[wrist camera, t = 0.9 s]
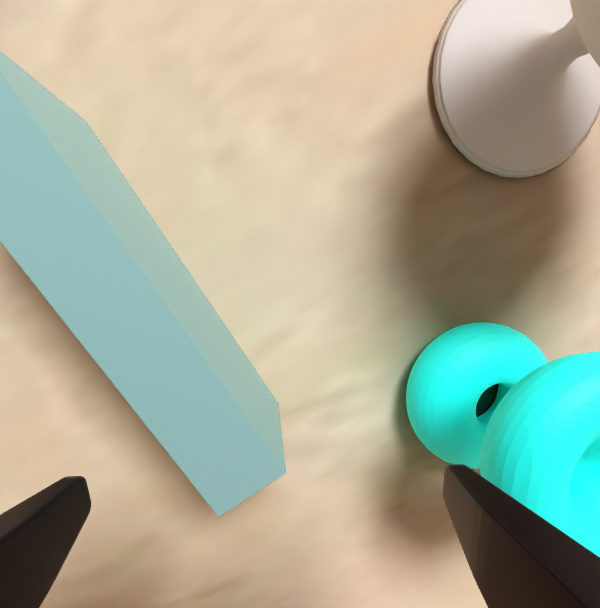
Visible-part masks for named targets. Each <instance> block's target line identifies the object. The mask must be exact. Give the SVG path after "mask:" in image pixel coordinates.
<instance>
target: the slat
mask: <svg viewBox="0 0 600 608" xmlns="http://www.w3.org/2000/svg"><path fill="white" fill-rule="evenodd" d="M0 242H1V243H2V244H3V246H4V247H5V248H6V249H7V251H8V252H9V253H10V254H11V256H12V257H13V258H14V259H15V261H16V262H17V263H18V264H19V266H20V267H21V268H22V270H23V271H24V272H25V273H26V275H27V276H28V277H29V278H30V280H31V281H32V282H33V283H34V285H35V286H36V287H37V288H38V290H39V291H40V292H41V294H42V295H43V296H44V297H45V299H46V300H47V301H48V302H49V304H50V305H51V306H52V307H53V309H54V310H55V311H56V312H57V314H58V315H59V316H60V318H61V319H62V320H63V321H64V323H65V324H66V325H67V326H68V328H69V329H70V330H71V331H72V333H73V334H74V335H75V336H76V338H77V339H78V340H79V342H80V343H81V344H82V345H83V347H84V348H85V349H86V350H87V352H88V353H89V354H90V355H91V357H92V358H93V359H94V360H95V362H96V363H97V364H98V366H99V367H100V368H101V369H102V371H103V372H104V373H105V374H106V376H107V377H108V378H109V379H110V381H111V382H112V383H113V384H114V386H115V387H116V388H117V390H118V391H119V392H120V393H121V395H122V396H123V397H124V398H125V400H126V401H127V402H128V403H129V405H130V406H131V407H132V408H133V410H134V411H135V412H136V414H137V415H138V416H139V417H140V419H141V420H142V421H143V422H144V424H145V425H146V426H147V427H148V429H149V430H150V431H151V432H152V434H153V435H154V436H155V438H156V439H157V440H158V441H159V443H160V444H161V445H162V446H163V448H164V449H165V450H166V451H167V453H168V454H169V455H170V456H171V458H172V459H173V460H174V461H175V463H176V464H177V465H178V467H179V468H180V469H181V470H182V472H183V473H184V474H185V475H186V477H187V478H188V479H189V480H190V482H191V483H192V484H193V485H194V487H195V488H196V489H197V491H198V492H199V493H200V494H201V496H202V497H203V498H204V499H205V501H206V502H207V503H208V504H209V506H210V507H211V508H212V509H213V511H214V512H215V513H216V515H217V516H218V517H220V516H221V515H223V514H224V513H226V512H227V511H229V510H230V509H232V508H233V507H235V506H236V505H238V504H239V503H241V502H243V501H244V500H246V499H247V498H249V497H250V496H252V495H253V494H255V493H256V492H258V491H259V490H261V489H262V488H264V487H265V486H267V485H269V484H270V483H272V482H273V481H275V480H276V479H278V478H279V477H281V476H282V475H284V474H285V473H286V467H285V458H284V450H283V441H282V432H281V423H280V414H279V406H278V402H277V401H276V399H275V398H274V396H273V395H272V393H271V392H270V390H269V389H268V387H267V386H266V384H265V383H264V382H263V380H262V379H261V377H260V376H259V374H258V373H257V371H256V370H255V368H254V367H253V365H252V364H251V362H250V361H249V359H248V358H247V357H246V355H245V354H244V352H243V351H242V349H241V348H240V346H239V345H238V343H237V342H236V340H235V339H234V337H233V336H232V335H231V333H230V332H229V330H228V329H227V327H226V326H225V324H224V323H223V321H222V320H221V318H220V317H219V315H218V314H217V312H216V311H215V310H214V308H213V307H212V305H211V304H210V302H209V301H208V299H207V298H206V296H205V295H204V293H203V292H202V290H201V289H200V287H199V286H198V285H197V283H196V282H195V280H194V279H193V277H192V276H191V274H190V273H189V271H188V270H187V268H186V267H185V265H184V264H183V262H182V261H181V260H180V258H179V257H178V255H177V254H176V252H175V251H174V249H173V248H172V246H171V245H170V243H169V242H168V240H167V239H166V237H165V236H164V235H163V233H162V232H161V230H160V229H159V227H158V226H157V224H156V223H155V221H154V220H153V218H152V217H151V215H150V214H149V212H148V211H147V210H146V208H145V207H144V205H143V204H142V202H141V201H140V199H139V198H138V196H137V195H136V193H135V192H134V190H133V189H132V188H131V186H130V185H129V183H128V182H127V180H126V179H125V177H124V176H123V174H122V173H121V171H120V170H119V168H118V167H117V165H116V164H115V163H114V161H113V160H112V158H111V157H110V155H109V154H108V152H107V151H106V149H105V148H104V146H103V145H102V143H101V142H100V140H99V139H98V138H97V136H96V135H95V133H94V132H93V130H92V129H91V127H90V126H89V124H88V123H87V122H86V121H85V120H84V119H83V118H81V117H80V116H79V115H78V114H77V113H75V112H74V111H73V110H72V109H71V108H69V107H68V106H67V105H66V104H64V103H63V102H62V101H61V100H60V99H58V98H57V97H56V96H55V95H54V94H52V93H51V92H50V91H49V90H47V89H46V88H45V87H44V86H43V85H41V84H40V83H39V82H38V81H37V80H35V79H34V78H33V77H32V76H30V75H29V74H28V73H27V72H26V71H24V70H23V69H22V68H21V67H20V66H18V65H17V64H16V63H15V62H13V61H12V60H11V59H10V58H9V57H7V56H6V55H5V54H4V53H2V52H1V51H0Z"/></svg>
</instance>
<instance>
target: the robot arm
mask: <svg viewBox="0 0 600 608" xmlns="http://www.w3.org/2000/svg"><path fill="white" fill-rule="evenodd" d="M443 497H444V501H445V504H446V507H447V509H448V512H449V515H450V517H451V520H452V522H453V525H454V528H455V530H456V533H457V535H458V538H459V541H460V543H461V546H462V548H463V551H464V554H465V556H466V559H467V561H468V564H469V566H470V569H471V571H472V574H473V576H474V578H475V581H476V583H477V585H478V587H479V589H480V592H481V594H482V596H483V598H484V600H485V602H486V604H487V606H488V608H600V557H599V556H597V555H596V554H594V553H593V552H592V551H590V550H589V549H587V548H586V547H584V546H583V545H581V544H580V543H578V542H577V541H575V540H574V539H573V538H571V537H570V536H568V535H567V534H565V533H564V532H562V531H561V530H559V529H558V528H556V527H555V526H554V525H552V524H551V523H549V522H548V521H546V520H545V519H543V518H542V517H540V516H539V515H537V514H536V513H535V512H533V511H532V510H530V509H529V508H527V507H526V506H524V505H523V504H521V503H520V502H518V501H517V500H516V499H514V498H513V497H511V496H510V495H508V494H507V493H505V492H504V491H502V490H501V489H499V488H498V487H497V486H495V485H494V484H492V483H491V482H489V481H488V480H486V479H485V478H483V477H482V476H480V475H479V474H478V473H476V472H475V471H473V470H472V469H470V468H469V467H467V466H466V465H464V464H449V465H447V466H446V468H445V474H444V485H443ZM90 509H91V499H90V495H89V491H88V487H87V482H86V479H85V478H84V477H82V476H69V477H65V478H62V479H61V480H59V481H57V482H55V483H54V484H52V485H50V486H49V487H47V488H45V489H44V490H42V491H40V492H38V493H37V494H35V495H33V496H32V497H30V498H28V499H26V500H25V501H23V502H21V503H20V504H18V505H16V506H14V507H13V508H11V509H9V510H8V511H6V512H4V513H3V514H1V515H0V608H39V607H40V605H41V604H42V602H43V600H44V599H45V597H46V595H47V594H48V592H49V590H50V588H51V586H52V584H53V583H54V581H55V579H56V577H57V575H58V573H59V571H60V569H61V567H62V565H63V564H64V562H65V560H66V558H67V556H68V554H69V552H70V550H71V548H72V546H73V544H74V542H75V540H76V538H77V536H78V534H79V532H80V530H81V528H82V527H83V525H84V523H85V521H86V519H87V517H88V515H89V512H90Z"/></svg>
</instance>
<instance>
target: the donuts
mask: <svg viewBox="0 0 600 608" xmlns="http://www.w3.org/2000/svg"><path fill="white" fill-rule="evenodd" d="M495 384H498V392H497V396H496V399H495V401H494V402H493V404H492V406H491V407H490V408H489V409H488V410H487V411H486V412H485V413H484V414H482V415H480V416H478V417H476V405H477V402H478V400H479V398H480V396H481V395H482V394H483V392H484V391H485V390H487V389H488V388H489V387H491V386H493V385H495ZM406 408H407V413H408V417H409V420H410V423H411V425H412V428H413V430H414V432H415V434H416V435H417V437H418V438H419V440H420V441H421V442H422V443H423V444H424V446H425V447H426V448H427V449H428V450H429V451H430V452H432V453H433V454H434V455H436V456H437V457H439V458H440V459H442V460H444V461H446V462H448V463H450V464H464V465H466V466H467V467H469V468H470V469H480V476H482V477H483V478H485V479H486V480H488V481H489V482H491V483H492V484H494V485H495V486H497V487H498V488H499V489H501V490H502V491H504V492H505V493H507V494H508V495H510V496H511V497H513V498H514V499H516V500H517V501H518V502H520V503H521V504H523V505H524V506H526V507H527V508H529V509H530V510H532V511H533V512H535V513H536V514H537V515H539V516H540V517H542V518H543V519H545V520H546V521H548V522H549V523H551V524H552V525H554V526H555V527H556V528H558V529H559V530H561V531H562V532H564V533H565V534H567V535H568V536H570V537H571V538H573V539H574V540H575V541H577V542H578V543H580V544H581V545H583V546H584V547H586V548H587V549H589V550H590V551H592V552H593V553H594V554H596V555H597V556H599V557H600V352H589V353H582V354H574V355H570V356H566V357H562V358H559V359H557V360H554V361H552V362H549V363H548V362H547V360H546V358H545V356H544V354H543V353H542V351H541V350H540V349H539V348H538V347H537V345H536V344H535V343H534V342H533V341H531V340H530V339H529V338H528V337H527V336H525V335H524V334H522V333H520V332H519V331H517V330H515V329H513V328H511V327H508V326H505V325H501V324H496V323H490V322H477V323H469V324H464V325H460V326H458V327H455V328H452V329H450V330H448V331H446V332H445V333H443V334H441V335H440V336H438V337H437V338H436V339H434V340H433V341H432V342H431V343H430V344H429V345H428V346H427V347H426V348H425V349H424V350H423V351H422V353H421V354H420V355H419V357H418V358H417V360H416V362H415V364H414V366H413V368H412V370H411V373H410V376H409V379H408V383H407V389H406Z"/></svg>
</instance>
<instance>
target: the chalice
mask: <svg viewBox="0 0 600 608" xmlns="http://www.w3.org/2000/svg"><path fill="white" fill-rule="evenodd" d="M432 83H433V90H434V98H435V105H436V108H437V111H438V114H439V117H440V120H441V123H442V125H443V128H444V129H445V131H446V133H447V134H448V136H449V138H450V139H451V141H452V143H453V144H454V146H455V147H456V148H457V149H458V150H459V151H460V152H461V153H462V154H463V155H464V156H465V157H466V158H467V159H468V160H469V161H470V162H472V163H473V164H475V165H476V166H478V167H480V168H481V169H483V170H484V171H486V172H489V173H492V174H495V175H498V176H501V177H511V178H525V177H530V176H535V175H540V174H542V173H544V172H546V171H548V170H550V169H553V168H555V167H557V166H558V165H560V164H561V163H562V162H563V161H565V160H566V159H567V158H568V157H570V156H571V155H572V154H573V153H574V152H575V151H576V150H577V148H578V147H579V146H580V145H581V144H582V142H583V141H584V140H585V139H586V137H587V136H588V134H589V132H590V130H591V128H592V126H593V124H594V123H595V121H596V119H597V116H598V113H599V109H600V0H459V1H458V3H457V4H456V5H455V6H454V8H453V9H452V10H451V11H450V14H449V16H448V18H447V20H446V22H445V24H444V26H443V28H442V30H441V32H440V35H439V38H438V42H437V46H436V50H435V54H434V61H433V77H432Z"/></svg>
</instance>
